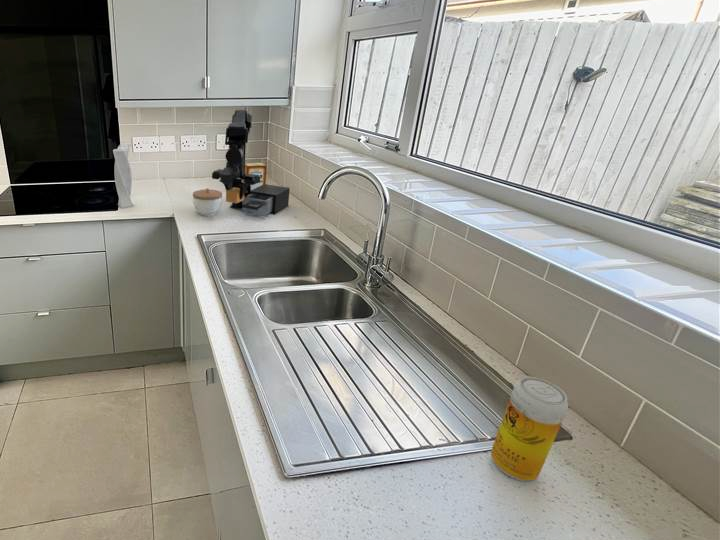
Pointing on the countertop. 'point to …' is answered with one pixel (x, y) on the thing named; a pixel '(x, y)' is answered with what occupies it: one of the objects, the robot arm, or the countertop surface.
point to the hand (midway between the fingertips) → (235, 198)
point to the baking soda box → (258, 170)
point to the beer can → (529, 428)
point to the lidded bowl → (207, 201)
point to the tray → (258, 204)
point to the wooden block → (233, 195)
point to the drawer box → (274, 195)
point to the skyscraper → (123, 176)
